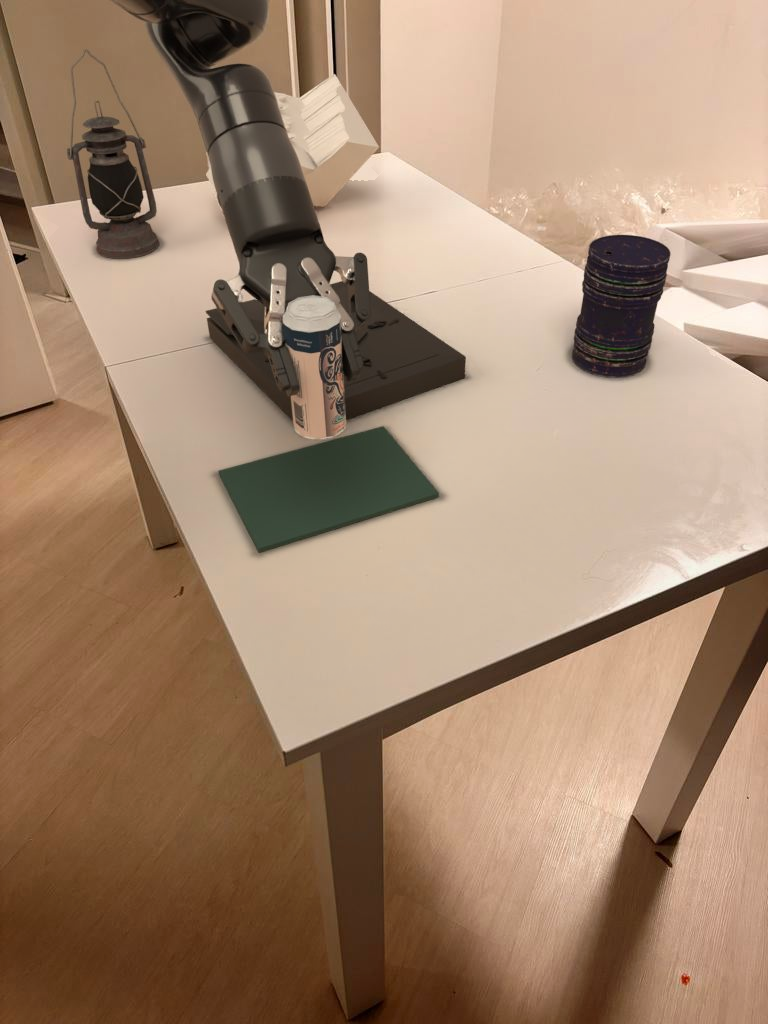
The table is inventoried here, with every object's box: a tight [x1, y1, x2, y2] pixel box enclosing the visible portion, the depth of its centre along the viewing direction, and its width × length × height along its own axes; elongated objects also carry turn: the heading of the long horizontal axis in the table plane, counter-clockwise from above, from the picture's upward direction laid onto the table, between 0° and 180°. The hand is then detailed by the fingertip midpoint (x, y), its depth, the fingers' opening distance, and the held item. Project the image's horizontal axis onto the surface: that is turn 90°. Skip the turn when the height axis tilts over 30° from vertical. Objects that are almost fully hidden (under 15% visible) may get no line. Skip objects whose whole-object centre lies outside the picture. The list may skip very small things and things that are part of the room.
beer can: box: [283, 295, 347, 441], centre depth 69 cm, size 5×5×12 cm
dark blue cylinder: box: [571, 234, 672, 379], centre depth 102 cm, size 10×10×15 cm
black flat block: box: [205, 280, 467, 422], centre depth 107 cm, size 23×4×28 cm
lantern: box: [66, 49, 160, 260], centre depth 129 cm, size 12×11×30 cm
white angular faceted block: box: [205, 73, 380, 213], centre depth 142 cm, size 20×16×25 cm
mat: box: [218, 425, 440, 553], centre depth 87 cm, size 20×14×1 cm
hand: (324, 385), depth 68 cm, fingers closed on beer can, 4 cm apart
